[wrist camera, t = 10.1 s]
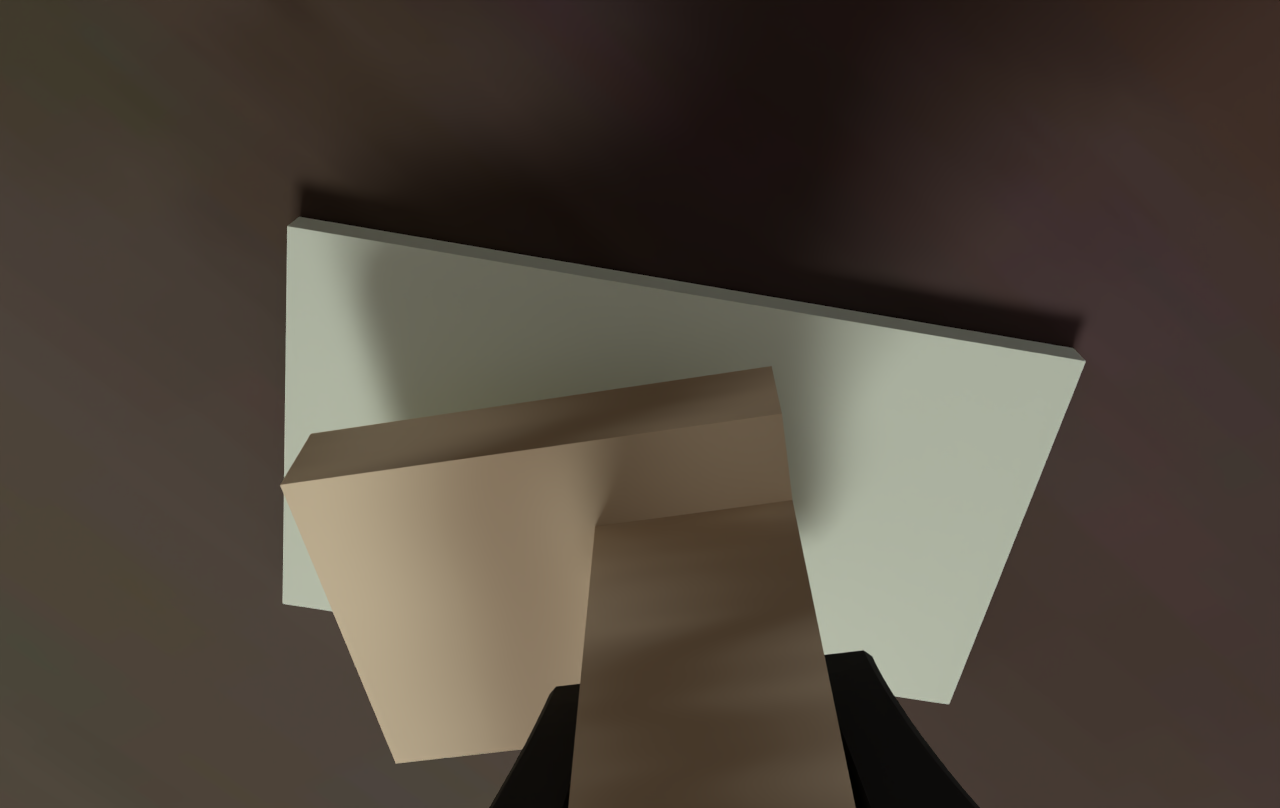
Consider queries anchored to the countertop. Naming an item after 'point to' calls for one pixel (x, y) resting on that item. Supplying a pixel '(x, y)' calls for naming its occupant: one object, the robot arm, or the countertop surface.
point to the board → (693, 347)
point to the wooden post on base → (586, 589)
